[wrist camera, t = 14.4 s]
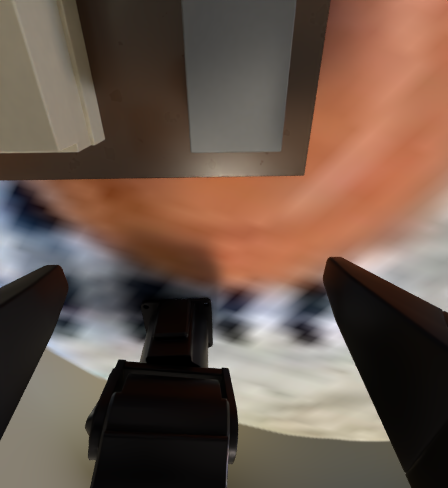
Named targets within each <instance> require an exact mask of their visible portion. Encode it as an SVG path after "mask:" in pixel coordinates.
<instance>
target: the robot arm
mask: <svg viewBox="0 0 448 488" xmlns="http://www.w3.org/2000/svg"><path fill="white" fill-rule="evenodd" d="M323 283H324V286H325V289H326V293H327V296H328V299H329V302H330V305H331V308H332V311H333V314H334V317H335V320H336V322H337V325H338V327H339V329H340V332H341V334H342V336H343V338H344V340H345V343H346V345H347V347H348V349H349V351H350V354H351V356H352V358H353V360H354V362H355V365H356V367H357V369H358V371H359V373H360V376H361V378H362V380H363V382H364V384H365V386H366V389H367V391H368V393H369V395H370V397H371V400H372V402H373V404H374V406H375V408H376V411H377V413H378V415H379V417H380V419H381V422H382V424H383V426H384V428H385V430H386V433H387V435H388V437H389V439H390V441H391V444H392V446H393V448H394V450H395V452H396V454H397V457H398V459H399V461H400V463H401V466H402V468H403V470H404V472H405V473H406V477H407V479H408V481H409V484H410V486H411V488H448V312H446V311H442V309H440V308H438V307H436V306H434V305H432V304H430V303H428V302H426V301H424V300H422V299H421V298H419V297H417V296H415V295H413V294H411V293H409V292H407V291H405V290H403V289H401V288H399V287H397V286H396V285H394V284H392V283H390V282H388V281H386V280H384V279H382V278H380V277H378V276H376V275H374V274H373V273H371V272H369V271H367V270H365V269H363V268H361V267H359V266H357V265H355V264H353V263H351V262H349V261H348V260H346V259H344V258H342V257H329V258H328V259H327V262H326V266H325V270H324V275H323ZM67 293H68V283H67V280H66V277H65V275H64V272H63V269H62V267H61V266H59V265H46V266H43V267H41V268H39V269H37V270H35V271H33V272H31V273H29V274H27V275H25V276H23V277H21V278H19V279H17V280H15V281H13V282H11V283H9V284H7V285H5V286H3V287H1V288H0V440H1V438H2V436H3V434H4V432H5V430H6V428H7V426H8V424H9V421H10V420H11V417H12V415H13V414H14V411H15V409H16V407H17V405H18V403H19V401H20V399H21V397H22V395H23V393H24V390H25V389H26V387H27V385H28V383H29V381H30V379H31V377H32V375H33V373H34V371H35V368H36V367H37V365H38V362H39V360H40V358H41V356H42V354H43V352H44V350H45V348H46V346H47V344H48V342H49V340H50V338H51V336H52V334H53V331H54V329H55V326H56V324H57V321H58V318H59V315H60V313H61V310H62V307H63V304H64V301H65V299H66V296H67ZM204 303H208V304H204ZM146 305H148V306H146ZM141 310H142V315H143V319H144V324H145V329H146V333H147V334H146V338H145V343H144V347H143V351H142V355H141V359H140V362H128V361H126V360H118V362H117V365H116V367H115V368H113V370H112V372H111V374H110V375H109V378H108V381H107V383H106V385H105V388H104V390H103V392H102V394H101V396H100V399H99V401H98V403H97V404H96V406H95V407H94V409H93V410H92V412H91V414H90V415H89V417H88V418H87V421H86V425H85V429H86V431H87V433H88V435H89V449H88V458H89V460H96V462H95V468H94V472H93V476H92V482H91V486H90V488H227V473H228V464H233V462H234V460H235V456H236V451H237V442H238V415H237V407H236V402H235V397H234V392H233V388H232V383H231V378H230V373H229V368H222V369H217V368H208V348H209V347H211V346H212V345H213V337H212V307H211V300H210V299H209V298H188V299H159V300H144V301H143V302H142V304H141Z"/></svg>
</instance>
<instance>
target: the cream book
mask: <svg viewBox="0 0 448 488" xmlns="http://www.w3.org/2000/svg"><path fill="white" fill-rule="evenodd" d="M78 142H79V139H78V135H77V131H76V128H75V124H74V120H73V116H72V112H71V108H70V105H69V101H68V97H67V93H66V89H65V86H64V82H63V78H62V74H61V70H60V67H59V63H58V59H57V55H56V51H55V48H54V44H53V40H52V36H51V32H50V29H49V25H48V21H47V17H46V13H45V10H44V6H43V2H42V0H0V153H5V152H59V151H61V150H63V149H66V148H68V147H70V146H72V145H74V144H76V143H78Z"/></svg>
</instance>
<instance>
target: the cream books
mask: <svg viewBox="0 0 448 488" xmlns="http://www.w3.org/2000/svg"><path fill="white" fill-rule="evenodd" d="M42 2H43V6H44V10H45V13H46V17H47V21H48V25H49V29H50V32H51V36H52V40H53V44H54V48H55V51H56V55H57V59H58V63H59V67H60V70H61V74H62V78H63V82H64V86H65V89H66V93H67V97H68V101H69V105H70V108H71V112H72V116H73V120H74V124H75V128H76V131H77V135H78V139H79V142H78V143H76V144H74V145H72V146H70V147H68V148H66V149H63V150H61V151H59V152H79V151H81V150H83V149H85V148H87V147H89V146H90V145H96V144H98V143H100V142H102V141H103V140H105V136H104V131H103V127H102V122H101V117H100V112H99V108H98V103H97V98H96V94H95V89H94V84H93V80H92V75H91V70H90V66H89V61H88V56H87V52H86V47H85V42H84V37H83V33H82V28H81V23H80V19H79V14H78V9H77V5H76V0H42ZM5 153H52V152H5Z"/></svg>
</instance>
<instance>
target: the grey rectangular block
mask: <svg viewBox="0 0 448 488" xmlns="http://www.w3.org/2000/svg"><path fill="white" fill-rule="evenodd" d="M181 6H182V22H183V38H184V54H185V70H186V86H187V102H188V118H189V134H190V150H191V153H226V152H280V151H281V147H282V137H283V127H284V118H285V108H286V98H287V88H288V78H289V69H290V59H291V49H292V39H293V30H294V20H295V10H296V0H181Z"/></svg>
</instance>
